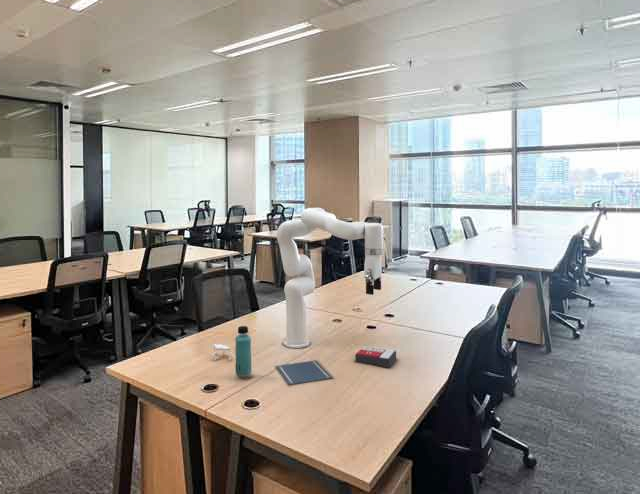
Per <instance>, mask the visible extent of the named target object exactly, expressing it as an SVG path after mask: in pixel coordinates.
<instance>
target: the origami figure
mask: <svg viewBox="0 0 640 494" xmlns="http://www.w3.org/2000/svg"><path fill="white" fill-rule="evenodd" d="M213 350H214V351H213V352H212V354H211V357H214V358H215V359H213V361H217V360H218V359H219V357H218V356H217V352H218V351H223V352H222V355H223V356H225V352H226V351H229V352H230V355H231V356H229V357H228V362H230V360H231V359H232V357H233V356H234V354H233V352H232V349H231V348H230V347H229V346H228V345H225V344H222V343H221V344H220V343H219V344H218V343H215V344H214V343H213Z"/></svg>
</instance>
